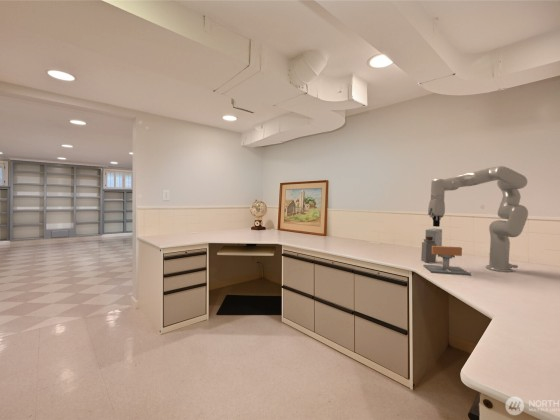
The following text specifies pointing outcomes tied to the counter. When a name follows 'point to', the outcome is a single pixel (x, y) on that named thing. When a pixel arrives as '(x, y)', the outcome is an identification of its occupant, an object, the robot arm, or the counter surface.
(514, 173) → the robot arm
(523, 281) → the counter surface
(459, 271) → the post board
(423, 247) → the perfume bottle
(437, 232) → the hard drive box
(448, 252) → the orange brown block
